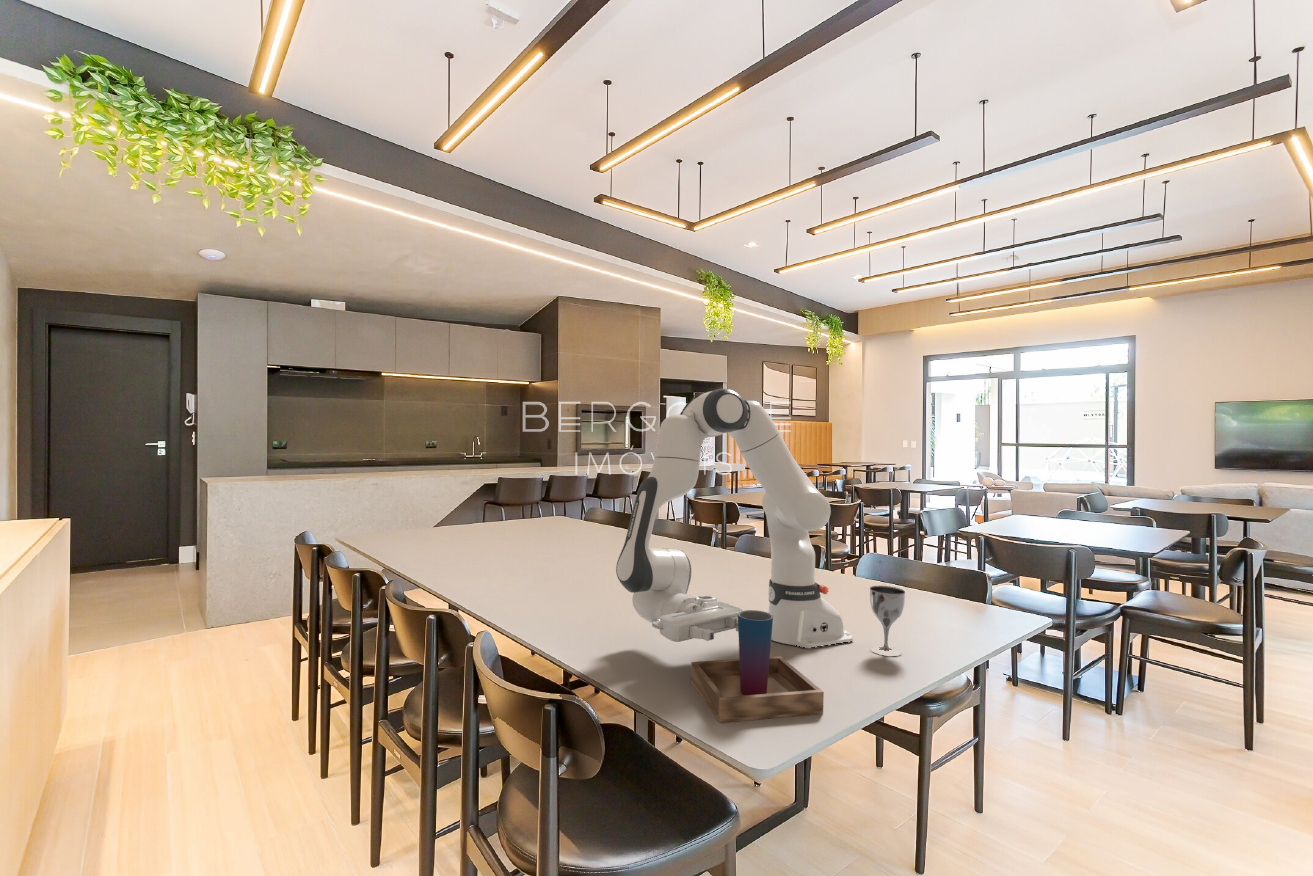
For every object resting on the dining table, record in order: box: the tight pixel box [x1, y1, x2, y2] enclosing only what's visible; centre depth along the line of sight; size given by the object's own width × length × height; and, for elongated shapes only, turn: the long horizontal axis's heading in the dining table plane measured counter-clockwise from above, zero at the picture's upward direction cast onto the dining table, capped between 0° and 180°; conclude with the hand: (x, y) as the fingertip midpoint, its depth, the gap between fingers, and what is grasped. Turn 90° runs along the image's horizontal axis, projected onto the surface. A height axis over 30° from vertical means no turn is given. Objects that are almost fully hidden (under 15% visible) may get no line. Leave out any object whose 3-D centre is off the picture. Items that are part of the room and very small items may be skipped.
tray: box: [690, 656, 825, 724], centre depth 113 cm, size 20×18×4 cm
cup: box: [737, 609, 773, 695], centre depth 113 cm, size 7×7×15 cm
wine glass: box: [869, 585, 906, 651], centre depth 140 cm, size 8×8×15 cm
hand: (728, 632), depth 119 cm, fingers open, 8 cm apart
